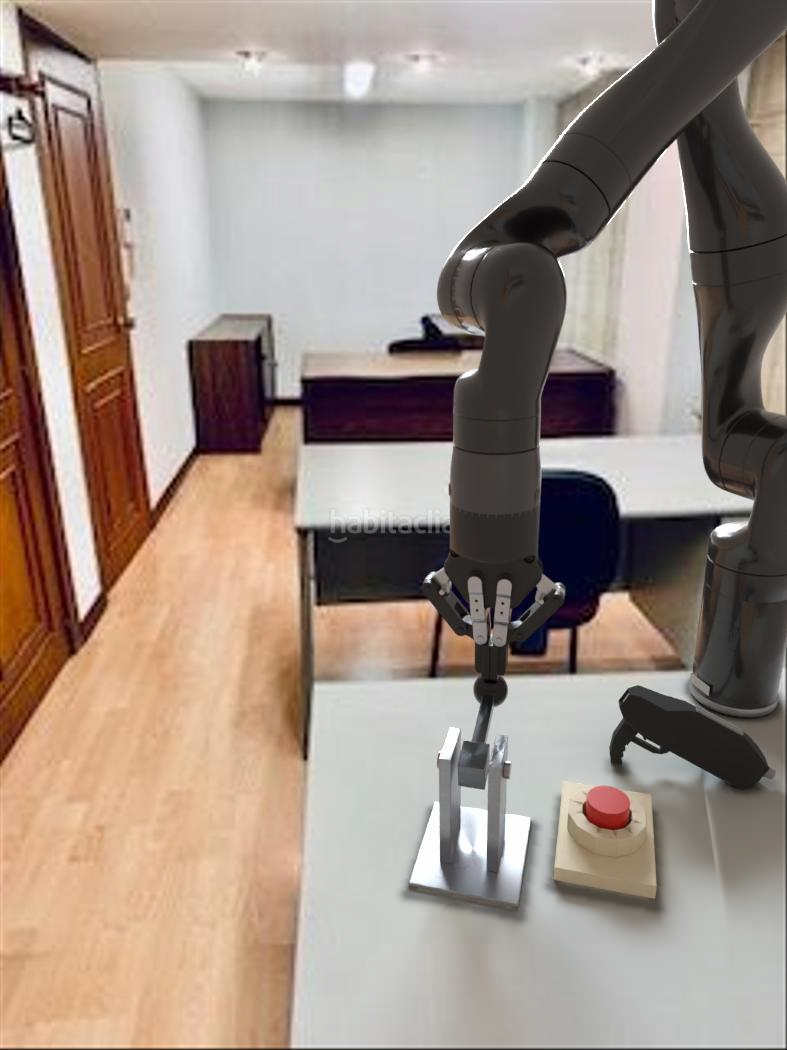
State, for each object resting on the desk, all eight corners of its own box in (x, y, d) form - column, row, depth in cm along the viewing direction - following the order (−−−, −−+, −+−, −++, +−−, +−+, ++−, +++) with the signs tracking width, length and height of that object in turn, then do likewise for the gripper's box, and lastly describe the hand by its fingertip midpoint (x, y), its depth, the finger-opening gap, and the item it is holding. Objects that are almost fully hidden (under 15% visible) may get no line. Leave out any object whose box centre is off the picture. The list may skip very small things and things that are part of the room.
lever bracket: (435, 811, 72) (433, 705, 68) (530, 827, 70) (535, 719, 66) (408, 893, 63) (405, 777, 59) (517, 915, 61) (522, 796, 57)
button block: (561, 799, 73) (564, 765, 72) (649, 813, 71) (653, 778, 70) (553, 888, 63) (555, 850, 62) (654, 907, 61) (658, 868, 60)
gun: (729, 834, 76) (793, 766, 72) (585, 757, 76) (641, 684, 72) (723, 814, 78) (785, 747, 74) (584, 739, 78) (638, 668, 74)
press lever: (476, 688, 73) (475, 663, 71) (510, 692, 72) (510, 667, 70) (452, 788, 63) (450, 761, 61) (490, 794, 62) (490, 767, 60)
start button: (586, 798, 68) (587, 782, 67) (628, 805, 67) (629, 789, 66) (584, 826, 65) (585, 810, 64) (628, 834, 64) (630, 817, 63)
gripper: (578, 487, 65) (567, 663, 71) (427, 478, 69) (429, 647, 75) (573, 516, 58) (561, 708, 64) (407, 505, 62) (410, 688, 68)
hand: (490, 675), depth 70 cm, fingers closed
